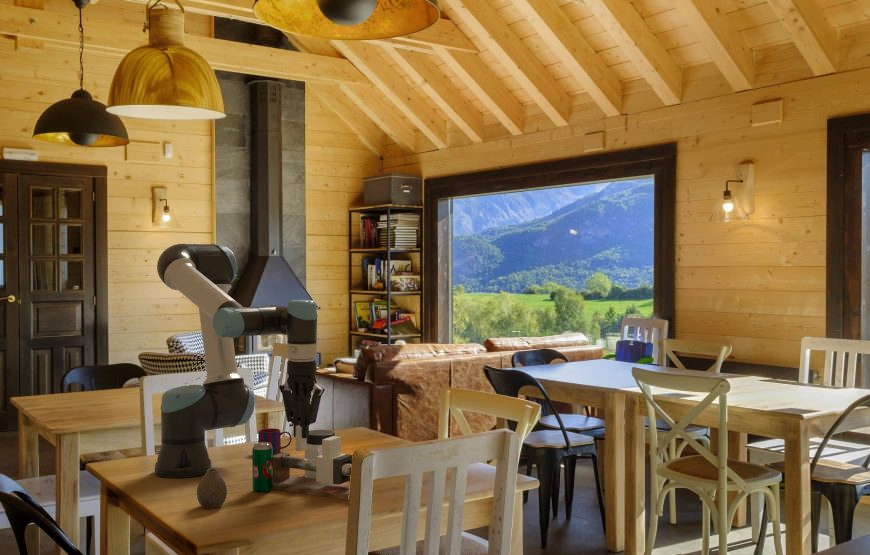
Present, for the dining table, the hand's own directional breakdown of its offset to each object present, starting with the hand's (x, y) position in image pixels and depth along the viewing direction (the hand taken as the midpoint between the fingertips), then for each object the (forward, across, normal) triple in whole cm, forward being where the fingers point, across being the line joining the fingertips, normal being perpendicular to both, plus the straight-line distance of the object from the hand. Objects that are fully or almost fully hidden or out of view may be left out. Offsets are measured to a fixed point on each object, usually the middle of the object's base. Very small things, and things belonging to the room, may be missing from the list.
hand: (301, 450), depth 221 cm
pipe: (+5, +6, 0) cm, 8 cm away
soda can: (+10, -6, -8) cm, 14 cm away
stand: (+9, +6, 0) cm, 11 cm away
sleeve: (+6, +10, 0) cm, 12 cm away
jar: (+10, -2, +11) cm, 15 cm away
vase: (+10, -8, -25) cm, 28 cm away
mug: (+10, -31, +29) cm, 44 cm away
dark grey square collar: (+6, +13, 0) cm, 15 cm away
